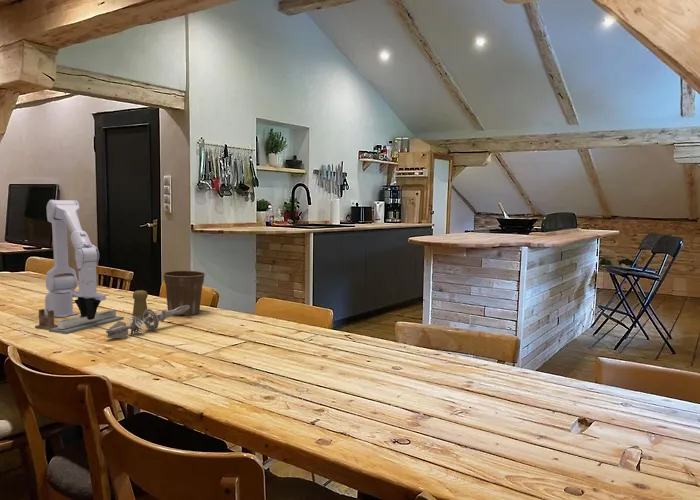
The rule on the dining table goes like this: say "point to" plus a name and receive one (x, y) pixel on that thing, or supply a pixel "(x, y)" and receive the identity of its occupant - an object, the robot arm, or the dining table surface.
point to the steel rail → (85, 319)
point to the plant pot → (184, 290)
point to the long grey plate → (86, 325)
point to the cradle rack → (46, 320)
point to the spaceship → (142, 322)
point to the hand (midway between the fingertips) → (88, 318)
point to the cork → (139, 303)
